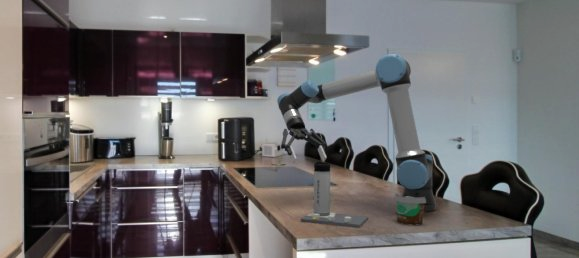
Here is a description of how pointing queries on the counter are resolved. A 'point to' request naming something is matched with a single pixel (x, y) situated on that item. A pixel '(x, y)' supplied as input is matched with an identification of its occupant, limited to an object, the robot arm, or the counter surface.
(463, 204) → the counter surface
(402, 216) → the food container
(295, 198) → the counter surface
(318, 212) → the travel mug
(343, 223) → the breaker panel
